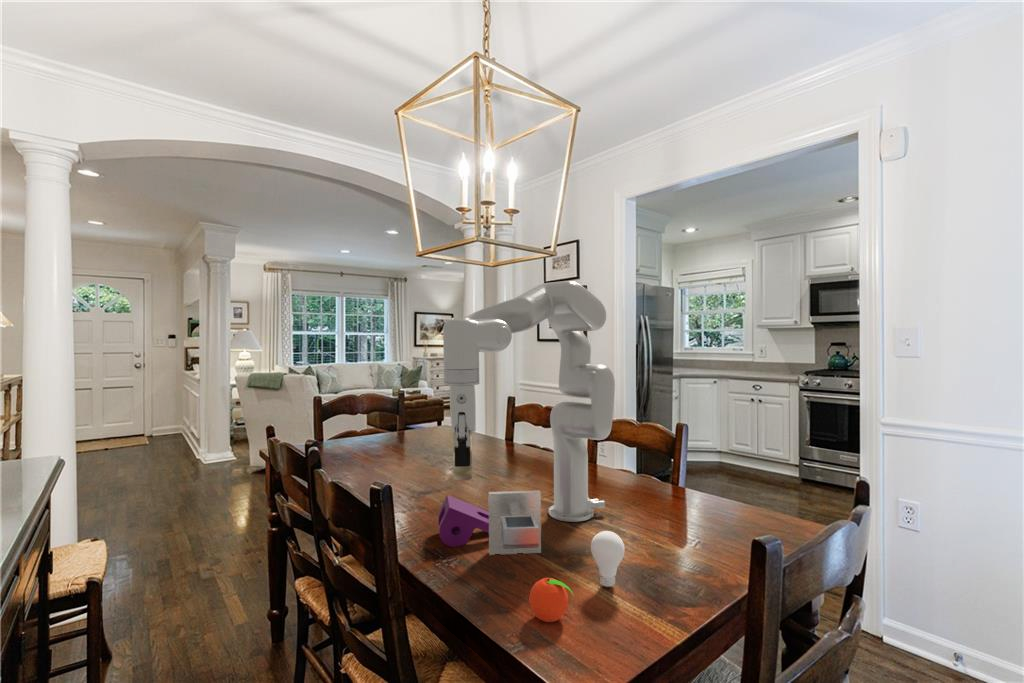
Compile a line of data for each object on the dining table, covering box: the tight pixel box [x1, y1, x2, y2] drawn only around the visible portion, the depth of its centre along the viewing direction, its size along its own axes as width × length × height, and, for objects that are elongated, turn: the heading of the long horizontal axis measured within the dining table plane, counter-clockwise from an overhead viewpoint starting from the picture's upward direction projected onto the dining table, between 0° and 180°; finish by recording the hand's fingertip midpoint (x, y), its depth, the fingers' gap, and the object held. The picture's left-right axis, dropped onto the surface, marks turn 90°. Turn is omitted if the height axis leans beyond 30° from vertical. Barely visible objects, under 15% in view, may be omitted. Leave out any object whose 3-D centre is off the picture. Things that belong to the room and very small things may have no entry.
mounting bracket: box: [437, 494, 489, 547], centre depth 122 cm, size 9×8×18 cm
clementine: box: [528, 577, 575, 623], centre depth 86 cm, size 8×7×7 cm
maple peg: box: [452, 427, 473, 482], centre depth 103 cm, size 4×4×12 cm
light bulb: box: [590, 530, 626, 589], centre depth 97 cm, size 7×7×11 cm
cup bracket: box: [488, 489, 542, 556], centre depth 106 cm, size 12×15×14 cm
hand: (462, 462), depth 103 cm, fingers closed on maple peg, 4 cm apart
